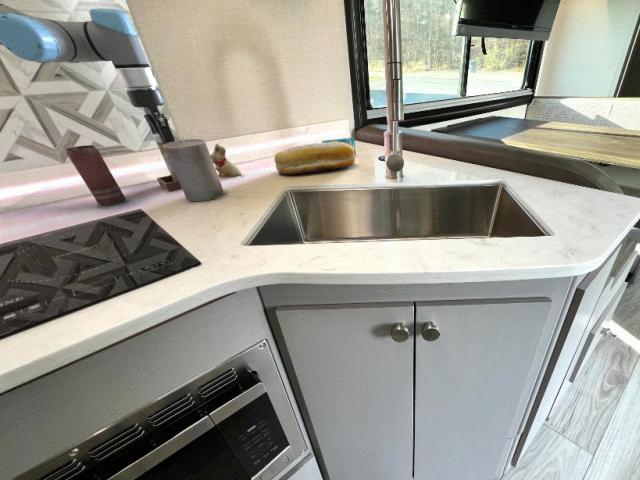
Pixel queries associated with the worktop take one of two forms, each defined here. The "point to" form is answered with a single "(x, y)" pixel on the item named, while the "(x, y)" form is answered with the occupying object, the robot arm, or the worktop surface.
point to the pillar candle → (194, 169)
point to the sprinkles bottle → (165, 156)
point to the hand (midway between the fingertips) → (182, 179)
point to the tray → (169, 183)
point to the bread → (315, 158)
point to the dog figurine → (223, 163)
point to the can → (96, 174)
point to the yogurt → (344, 140)
